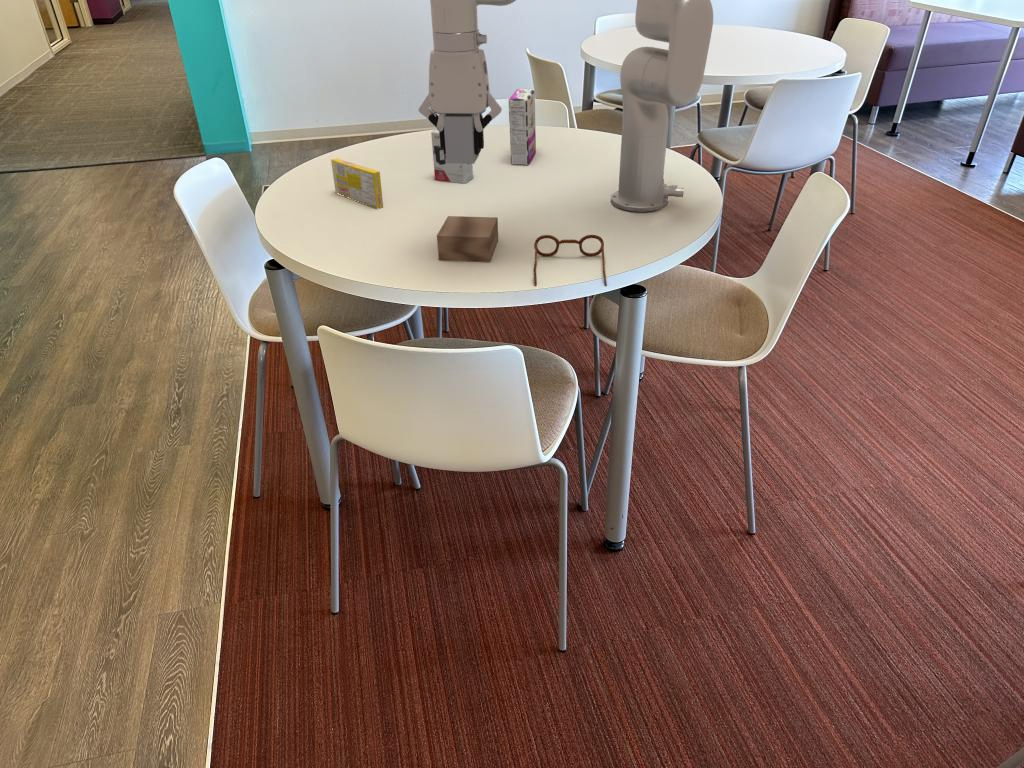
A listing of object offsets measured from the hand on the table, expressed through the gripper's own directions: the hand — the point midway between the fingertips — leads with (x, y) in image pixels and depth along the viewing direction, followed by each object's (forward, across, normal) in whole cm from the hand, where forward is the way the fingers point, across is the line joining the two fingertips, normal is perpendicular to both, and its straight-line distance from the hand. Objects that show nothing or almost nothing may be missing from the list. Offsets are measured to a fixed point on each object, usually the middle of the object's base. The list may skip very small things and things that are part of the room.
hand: (462, 151), depth 130 cm
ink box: (+20, +12, -42) cm, 48 cm away
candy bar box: (+19, -3, -59) cm, 62 cm away
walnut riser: (+19, 0, 0) cm, 19 cm away
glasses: (+20, -20, +7) cm, 29 cm away
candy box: (+20, +31, -26) cm, 45 cm away
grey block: (+1, 0, 0) cm, 1 cm away
